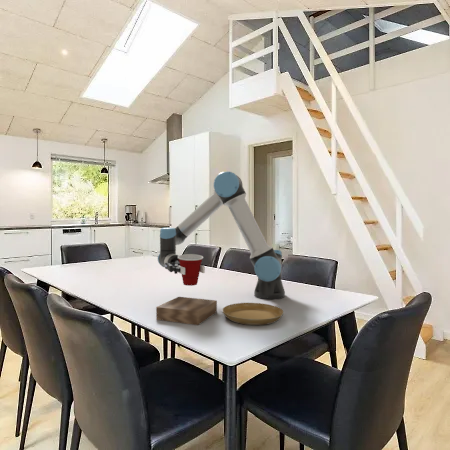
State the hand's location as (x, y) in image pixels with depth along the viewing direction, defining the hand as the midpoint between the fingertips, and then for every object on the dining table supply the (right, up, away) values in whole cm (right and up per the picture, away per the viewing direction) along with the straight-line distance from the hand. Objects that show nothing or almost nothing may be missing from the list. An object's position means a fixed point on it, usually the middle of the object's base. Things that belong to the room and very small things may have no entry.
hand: (194, 270), depth 148 cm
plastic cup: (-2, -7, +5) cm, 8 cm away
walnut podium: (-3, -18, 0) cm, 19 cm away
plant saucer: (+24, -19, -2) cm, 30 cm away
